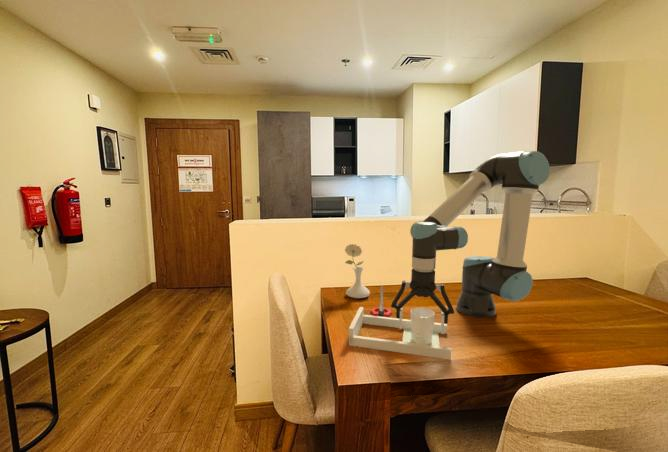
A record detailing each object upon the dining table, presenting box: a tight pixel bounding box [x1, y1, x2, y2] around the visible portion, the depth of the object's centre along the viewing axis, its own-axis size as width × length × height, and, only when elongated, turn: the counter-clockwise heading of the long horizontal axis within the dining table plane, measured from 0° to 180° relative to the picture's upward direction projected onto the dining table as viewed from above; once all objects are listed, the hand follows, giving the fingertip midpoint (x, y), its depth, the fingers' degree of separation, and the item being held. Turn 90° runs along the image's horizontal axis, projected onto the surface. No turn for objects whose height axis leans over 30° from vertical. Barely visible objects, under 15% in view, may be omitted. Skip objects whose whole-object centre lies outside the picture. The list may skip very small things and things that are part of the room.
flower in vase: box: [344, 243, 371, 299], centre depth 151 cm, size 13×11×25 cm
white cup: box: [410, 307, 436, 345], centre depth 108 cm, size 8×8×10 cm
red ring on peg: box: [370, 285, 392, 318], centre depth 132 cm, size 8×13×9 cm
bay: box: [348, 306, 452, 361], centre depth 110 cm, size 32×19×6 cm, turn 74°
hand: (421, 329), depth 108 cm, fingers open, 13 cm apart
